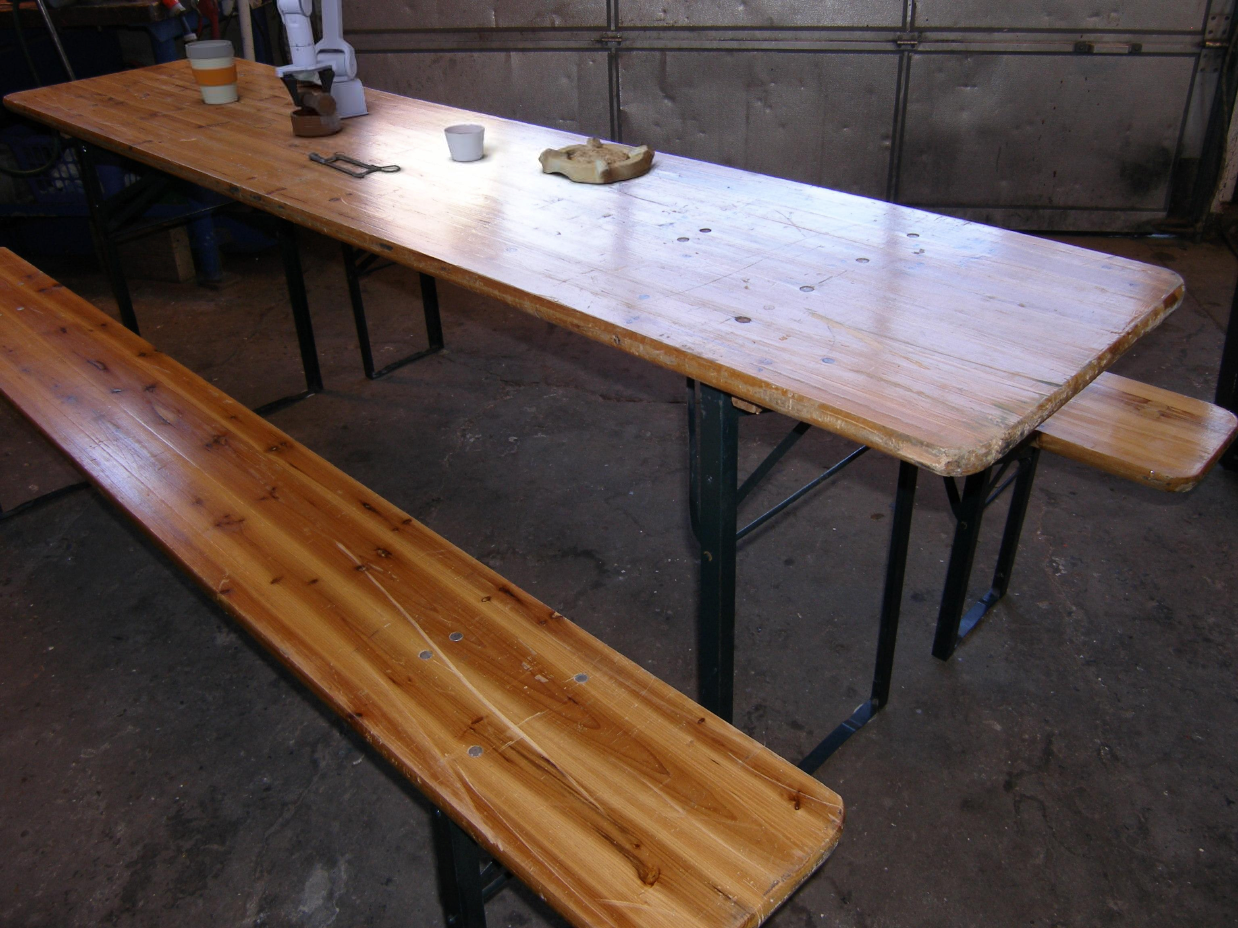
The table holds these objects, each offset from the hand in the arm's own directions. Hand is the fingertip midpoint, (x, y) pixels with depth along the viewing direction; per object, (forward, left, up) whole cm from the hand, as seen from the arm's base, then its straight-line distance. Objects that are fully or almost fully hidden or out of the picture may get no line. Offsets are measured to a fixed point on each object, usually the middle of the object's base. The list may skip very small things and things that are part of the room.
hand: (312, 104), depth 238 cm
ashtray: (-33, +73, -7) cm, 81 cm away
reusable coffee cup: (+7, -54, -7) cm, 55 cm away
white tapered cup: (-16, +46, -7) cm, 49 cm away
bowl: (0, 0, -7) cm, 7 cm away
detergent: (-23, -47, -7) cm, 52 cm away
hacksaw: (+6, +34, -7) cm, 35 cm away
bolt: (0, 0, -2) cm, 2 cm away
